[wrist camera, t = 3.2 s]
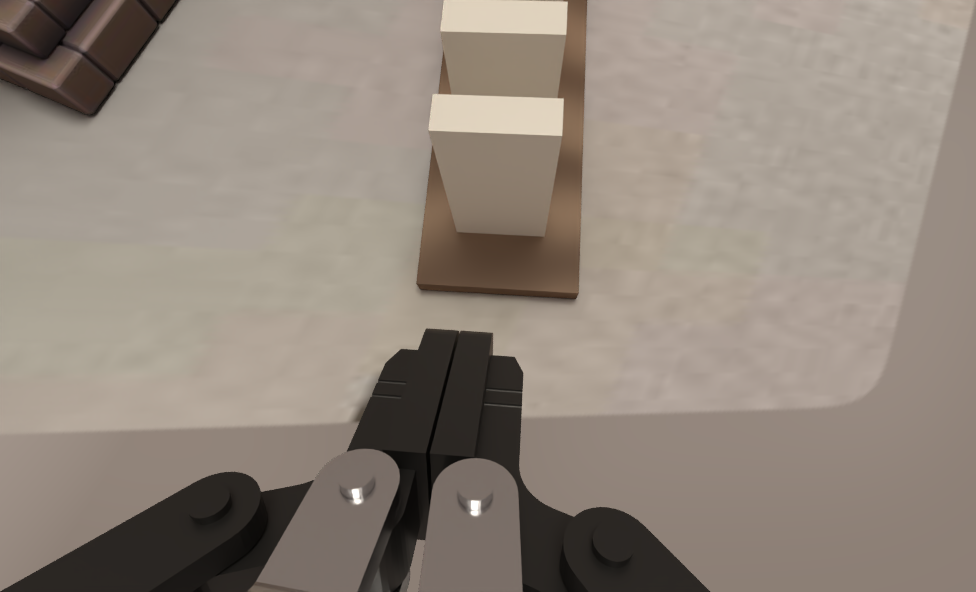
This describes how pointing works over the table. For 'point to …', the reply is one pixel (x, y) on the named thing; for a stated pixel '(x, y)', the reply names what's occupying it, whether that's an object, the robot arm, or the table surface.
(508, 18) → the domino
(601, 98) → the table surface
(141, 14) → the miniature tower
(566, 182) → the walnut board
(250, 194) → the table surface
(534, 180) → the domino
